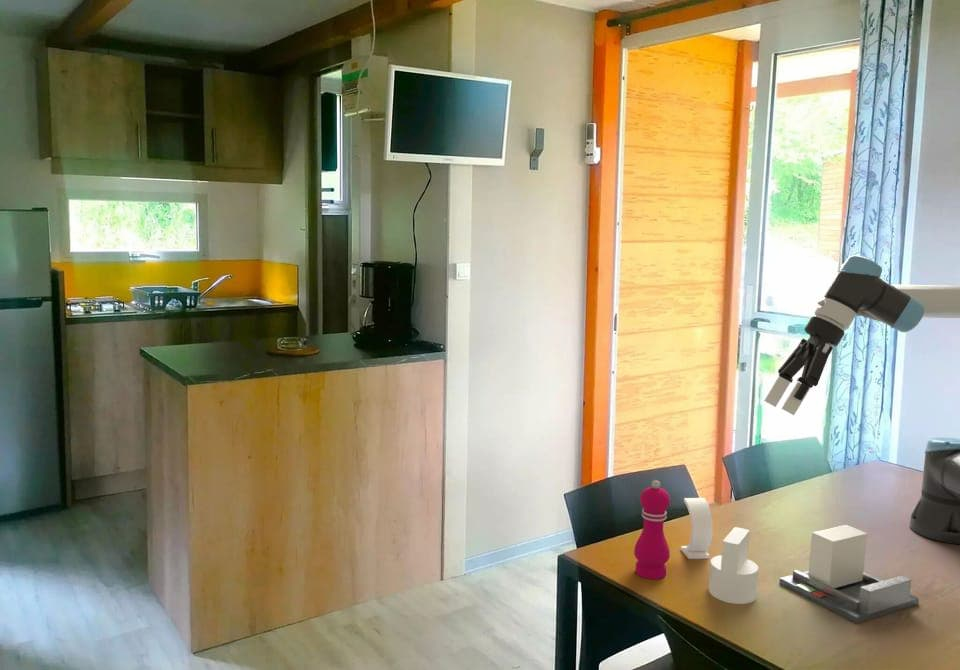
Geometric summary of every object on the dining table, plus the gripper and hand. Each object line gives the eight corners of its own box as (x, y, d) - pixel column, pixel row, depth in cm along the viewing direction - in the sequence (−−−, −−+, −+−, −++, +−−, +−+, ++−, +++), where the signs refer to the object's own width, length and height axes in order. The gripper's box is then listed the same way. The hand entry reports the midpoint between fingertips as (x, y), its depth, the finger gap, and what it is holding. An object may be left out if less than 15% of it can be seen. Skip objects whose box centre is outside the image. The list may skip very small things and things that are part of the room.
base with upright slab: (749, 608, 154) (754, 548, 152) (702, 595, 158) (706, 537, 157) (760, 590, 161) (765, 533, 160) (715, 578, 166) (719, 523, 164)
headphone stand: (700, 549, 181) (704, 497, 179) (710, 560, 175) (714, 507, 173) (680, 549, 180) (683, 498, 178) (690, 561, 174) (693, 508, 173)
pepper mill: (668, 582, 164) (674, 487, 161) (632, 578, 165) (638, 484, 162) (667, 567, 171) (673, 476, 168) (633, 563, 172) (638, 473, 169)
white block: (838, 569, 168) (842, 523, 167) (862, 580, 163) (867, 533, 162) (804, 577, 164) (808, 530, 162) (828, 589, 159) (833, 541, 157)
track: (839, 567, 173) (841, 542, 172) (918, 604, 157) (921, 576, 156) (779, 583, 165) (781, 557, 164) (856, 623, 149) (859, 594, 148)
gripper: (796, 313, 187) (748, 392, 188) (834, 315, 162) (779, 406, 164) (824, 329, 186) (777, 408, 188) (867, 333, 162) (812, 424, 163)
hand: (778, 408), depth 176 cm, fingers open, 13 cm apart
